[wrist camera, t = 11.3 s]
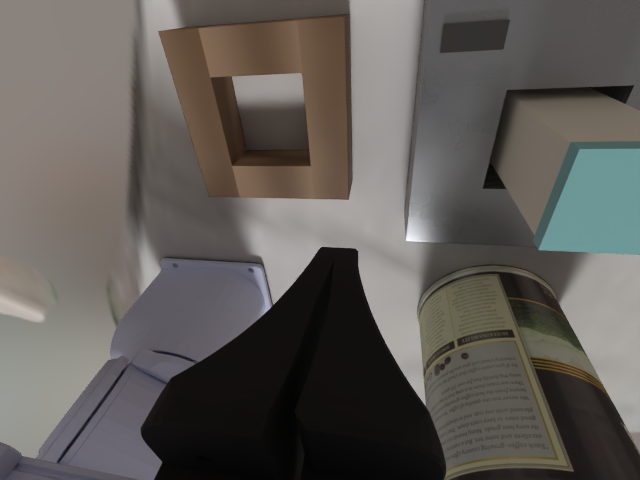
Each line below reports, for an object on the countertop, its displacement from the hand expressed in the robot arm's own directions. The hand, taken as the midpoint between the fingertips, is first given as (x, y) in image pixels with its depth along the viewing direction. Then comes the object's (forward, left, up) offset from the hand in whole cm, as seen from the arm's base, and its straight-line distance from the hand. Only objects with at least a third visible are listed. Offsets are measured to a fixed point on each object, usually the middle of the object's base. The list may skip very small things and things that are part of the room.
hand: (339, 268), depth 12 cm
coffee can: (+10, -13, -11) cm, 19 cm away
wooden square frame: (-5, +3, -10) cm, 12 cm away
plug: (+9, +2, -10) cm, 14 cm away
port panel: (+9, +2, -10) cm, 14 cm away
